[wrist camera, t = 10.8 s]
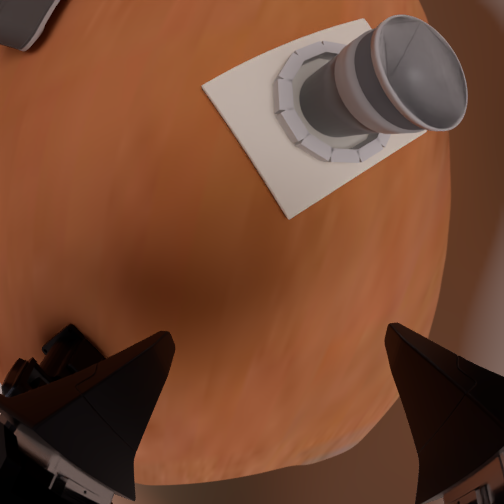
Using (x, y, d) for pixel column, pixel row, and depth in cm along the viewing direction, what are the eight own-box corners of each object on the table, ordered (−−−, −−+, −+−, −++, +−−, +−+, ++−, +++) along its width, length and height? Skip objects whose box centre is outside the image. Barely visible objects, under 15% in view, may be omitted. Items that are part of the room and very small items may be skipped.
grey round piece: (307, 144, 19) (396, 135, 9) (288, 72, 17) (356, 5, 7) (372, 134, 20) (476, 131, 9) (355, 68, 18) (447, 25, 7)
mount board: (286, 217, 22) (296, 225, 19) (202, 88, 18) (200, 78, 15) (421, 131, 21) (440, 131, 18) (359, 21, 17) (374, 10, 14)
